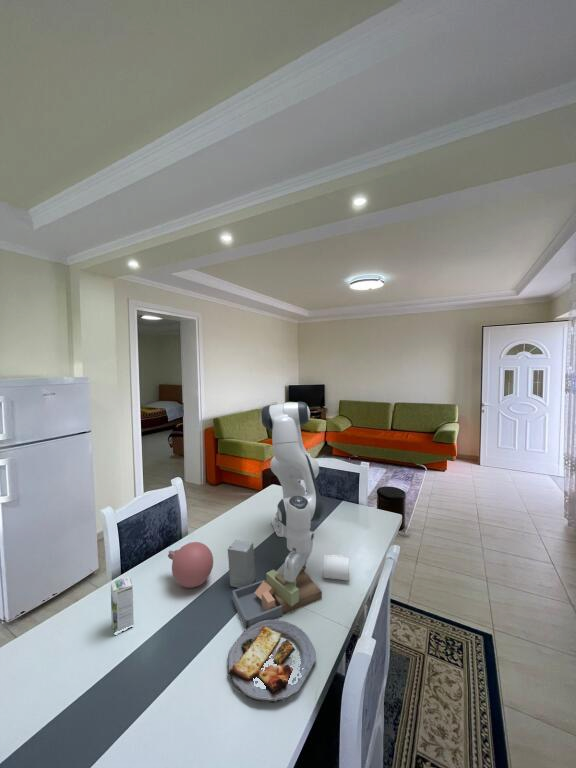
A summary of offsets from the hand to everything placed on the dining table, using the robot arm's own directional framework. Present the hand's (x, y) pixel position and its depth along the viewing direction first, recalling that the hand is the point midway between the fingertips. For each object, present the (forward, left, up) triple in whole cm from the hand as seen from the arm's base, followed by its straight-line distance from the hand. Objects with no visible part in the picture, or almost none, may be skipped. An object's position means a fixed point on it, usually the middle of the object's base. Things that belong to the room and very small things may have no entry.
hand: (298, 577), depth 118 cm
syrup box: (-13, -59, -6) cm, 60 cm away
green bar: (+1, -8, -3) cm, 8 cm away
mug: (-2, +19, -6) cm, 20 cm away
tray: (0, -17, -6) cm, 18 cm away
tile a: (-2, -13, -4) cm, 13 cm away
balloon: (-25, -36, -6) cm, 44 cm away
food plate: (+20, -21, -6) cm, 30 cm away
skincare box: (-14, -18, -6) cm, 23 cm away
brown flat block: (0, -3, -6) cm, 6 cm away
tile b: (+4, -13, -2) cm, 14 cm away
